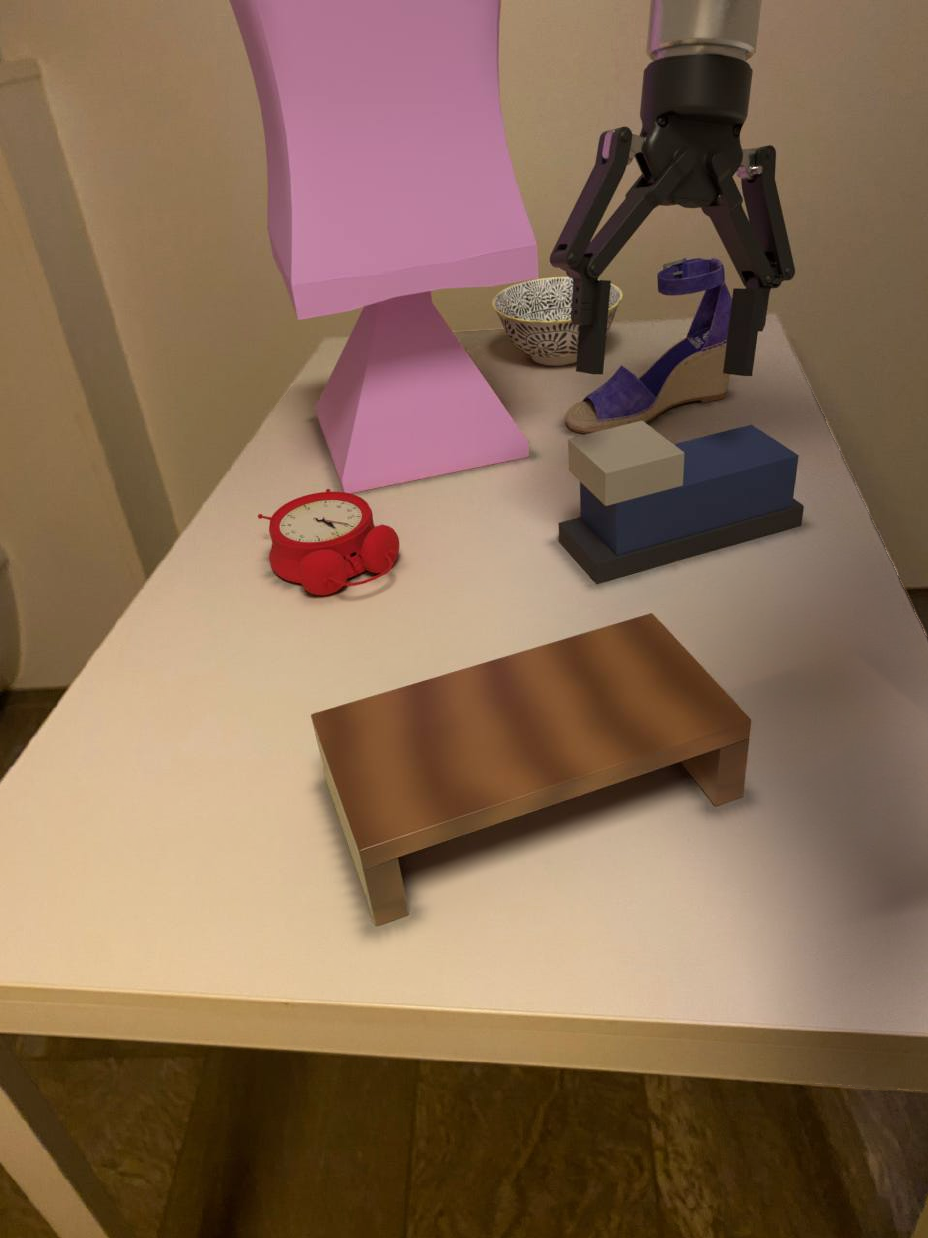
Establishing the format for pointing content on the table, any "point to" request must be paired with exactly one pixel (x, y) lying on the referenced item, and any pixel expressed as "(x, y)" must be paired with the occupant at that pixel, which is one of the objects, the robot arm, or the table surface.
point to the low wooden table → (521, 743)
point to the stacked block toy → (674, 496)
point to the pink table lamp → (391, 216)
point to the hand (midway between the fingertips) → (665, 374)
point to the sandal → (669, 358)
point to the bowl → (545, 318)
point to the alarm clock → (329, 541)
